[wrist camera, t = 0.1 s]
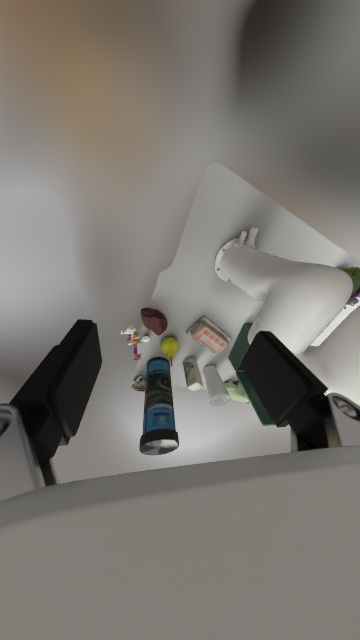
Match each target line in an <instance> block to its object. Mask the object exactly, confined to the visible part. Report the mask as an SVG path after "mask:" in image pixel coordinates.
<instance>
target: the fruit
mask: <svg viewBox="0 0 360 640" xmlns="http://www.w3.org/2000/svg"><path fill="white" fill-rule="evenodd" d="M342 271H344V272H345V273H347V274H348V275H349V276H350V277H351V279H352V282H353V291H352V294H351V296H350V298H351V297H356V296H358V295H359V294H360V269H359V267H352V268H348V269H345V270H342ZM350 298H349V299H350Z"/></svg>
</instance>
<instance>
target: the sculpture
mask: <svg viewBox="0 0 360 640" xmlns="http://www.w3.org/2000/svg"><path fill="white" fill-rule="evenodd" d="M139 378H142V379H141V380H139ZM145 387H146V380H145V379H144V378H143V377H142V376H139V377H138V378H137V380H135V383H134V384H133V385H132V389H134V390H137V391H145Z"/></svg>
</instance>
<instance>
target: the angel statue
mask: <svg viewBox="0 0 360 640" xmlns="http://www.w3.org/2000/svg"><path fill="white" fill-rule="evenodd" d="M353 298H356V297H351V298H350V299H349V300H348V302H347V303H346V305H352V304H353V303H354V305H355V303H358V302H359V301H358V300H357V299H354V300H353ZM354 305H352V306H354ZM344 307H345V306H344ZM344 309H346V307H345V308H344Z"/></svg>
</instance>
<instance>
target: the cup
mask: <svg viewBox="0 0 360 640" xmlns="http://www.w3.org/2000/svg"><path fill="white" fill-rule="evenodd" d="M203 371H204V376H205V381H206V385H207V390H208V395H209V399H210V403H211V404H212V405H222V404H225V403H226V402H228V401H229V400H230V395H229V393H228V391H227V389H226V387H225V385H224V383H223V381H222V380H221V378H220V376H219V374H218V372H217V370H216V368H215V366H213V365H208V366H206V367H205V368H204V370H203Z"/></svg>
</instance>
